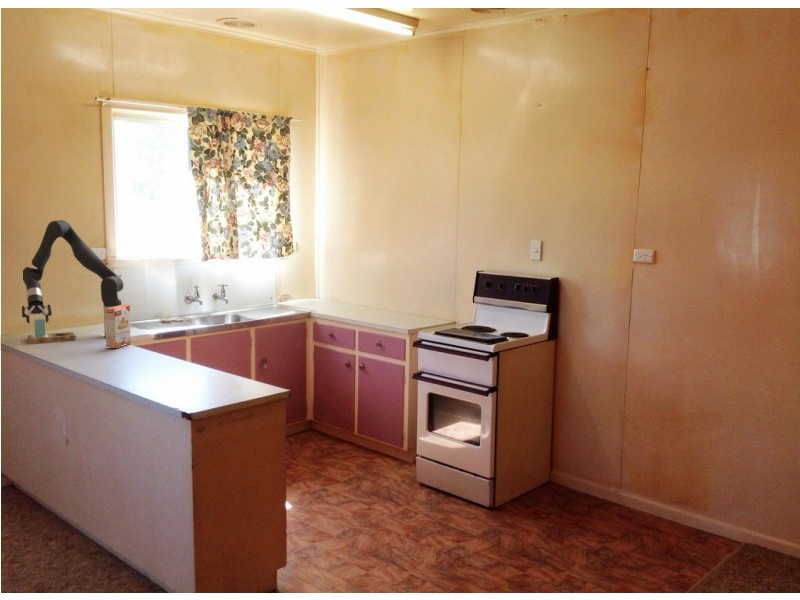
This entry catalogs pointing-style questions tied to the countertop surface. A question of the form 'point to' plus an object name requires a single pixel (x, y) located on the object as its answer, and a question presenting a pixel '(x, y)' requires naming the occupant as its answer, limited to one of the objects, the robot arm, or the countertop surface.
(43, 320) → the teal block
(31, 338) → the puzzle board
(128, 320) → the cracker box
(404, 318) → the countertop surface
